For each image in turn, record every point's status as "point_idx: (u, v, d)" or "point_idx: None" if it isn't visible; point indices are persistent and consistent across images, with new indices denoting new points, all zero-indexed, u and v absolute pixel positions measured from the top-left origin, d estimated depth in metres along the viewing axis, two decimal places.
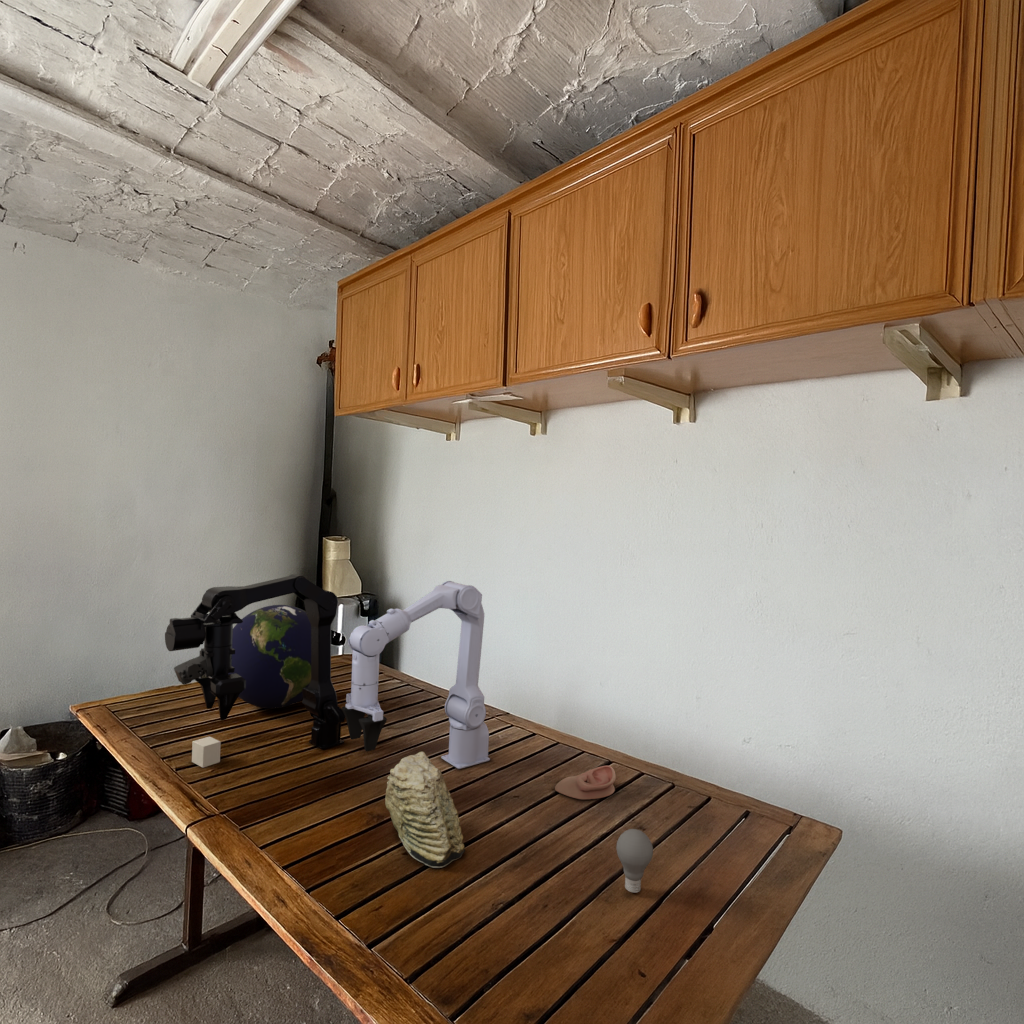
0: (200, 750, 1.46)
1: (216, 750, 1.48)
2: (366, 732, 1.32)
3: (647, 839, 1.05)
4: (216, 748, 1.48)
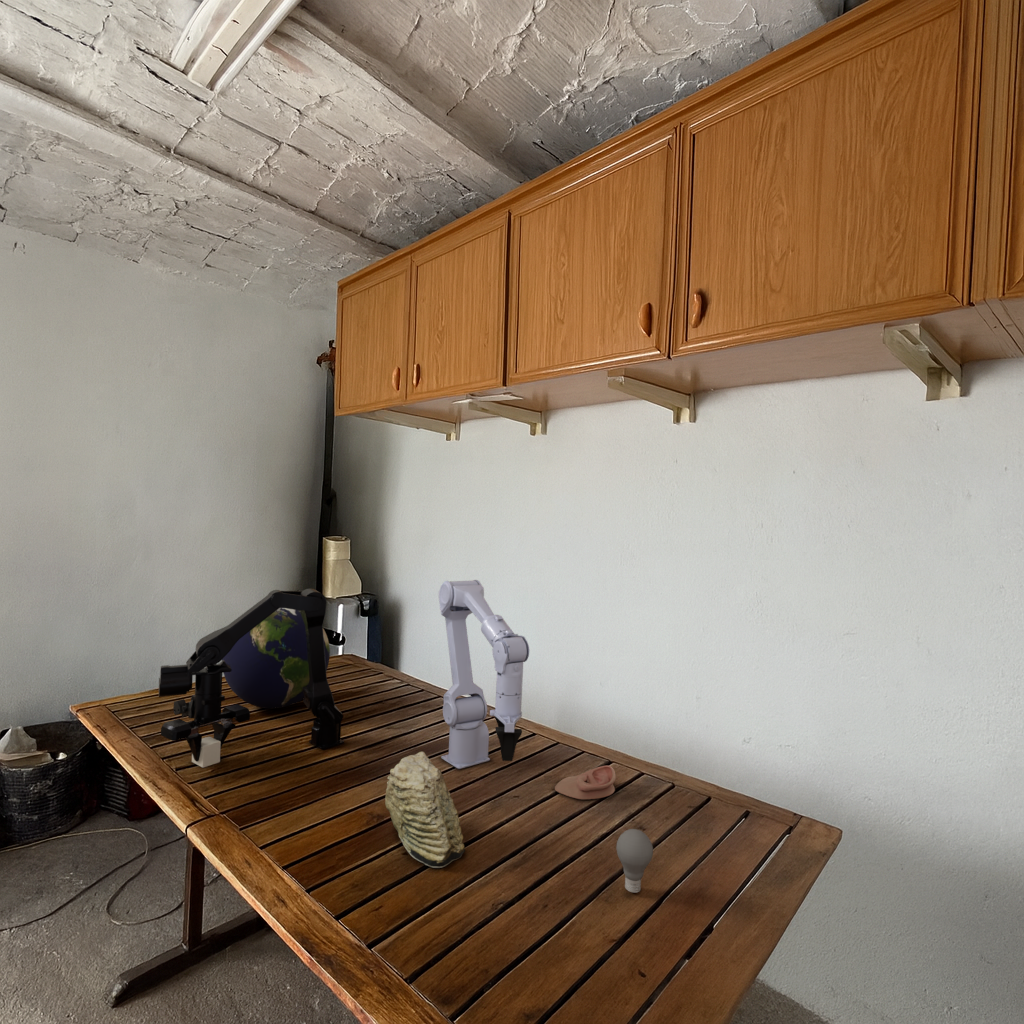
0: None
1: (216, 750, 1.48)
2: (500, 741, 1.34)
3: (647, 839, 1.05)
4: (216, 748, 1.48)
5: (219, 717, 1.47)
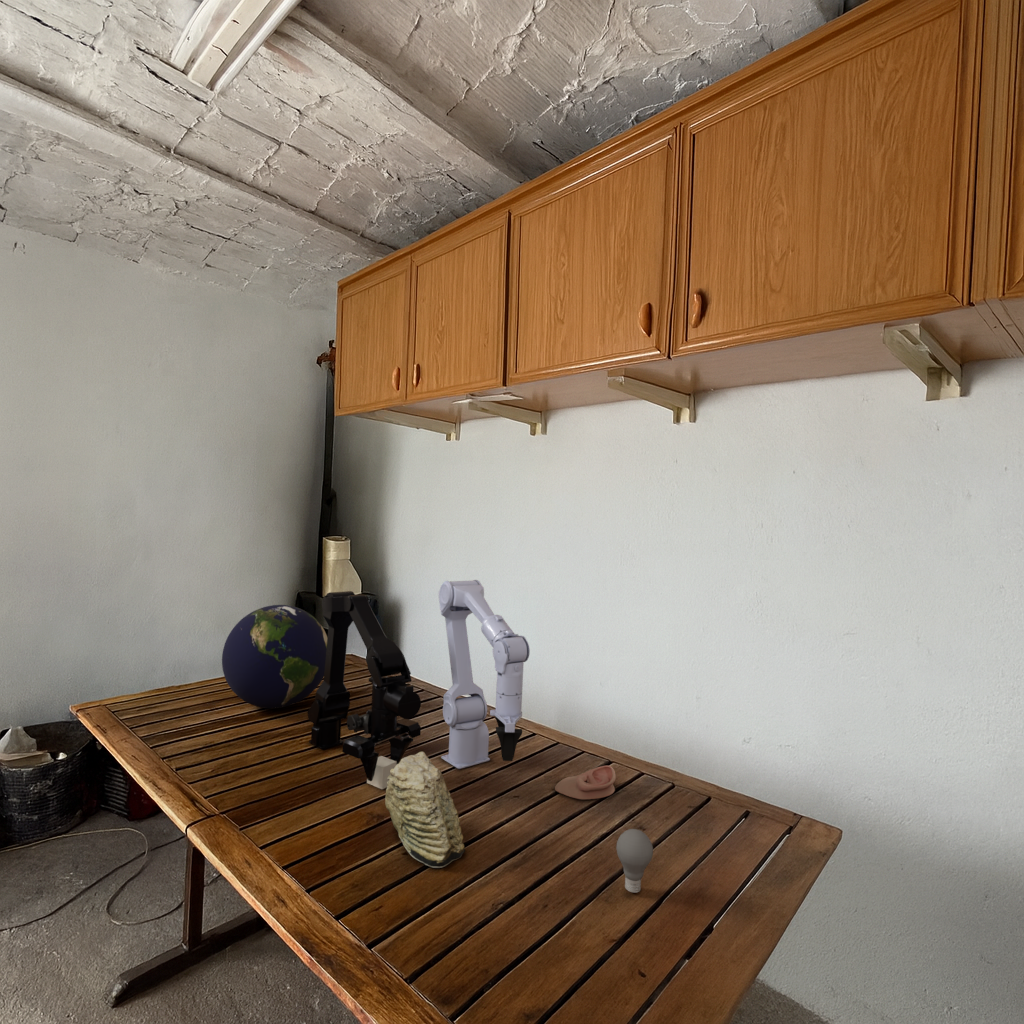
0: (378, 771, 1.39)
1: None
2: (500, 741, 1.34)
3: (647, 839, 1.05)
4: (393, 768, 1.41)
5: (396, 733, 1.41)
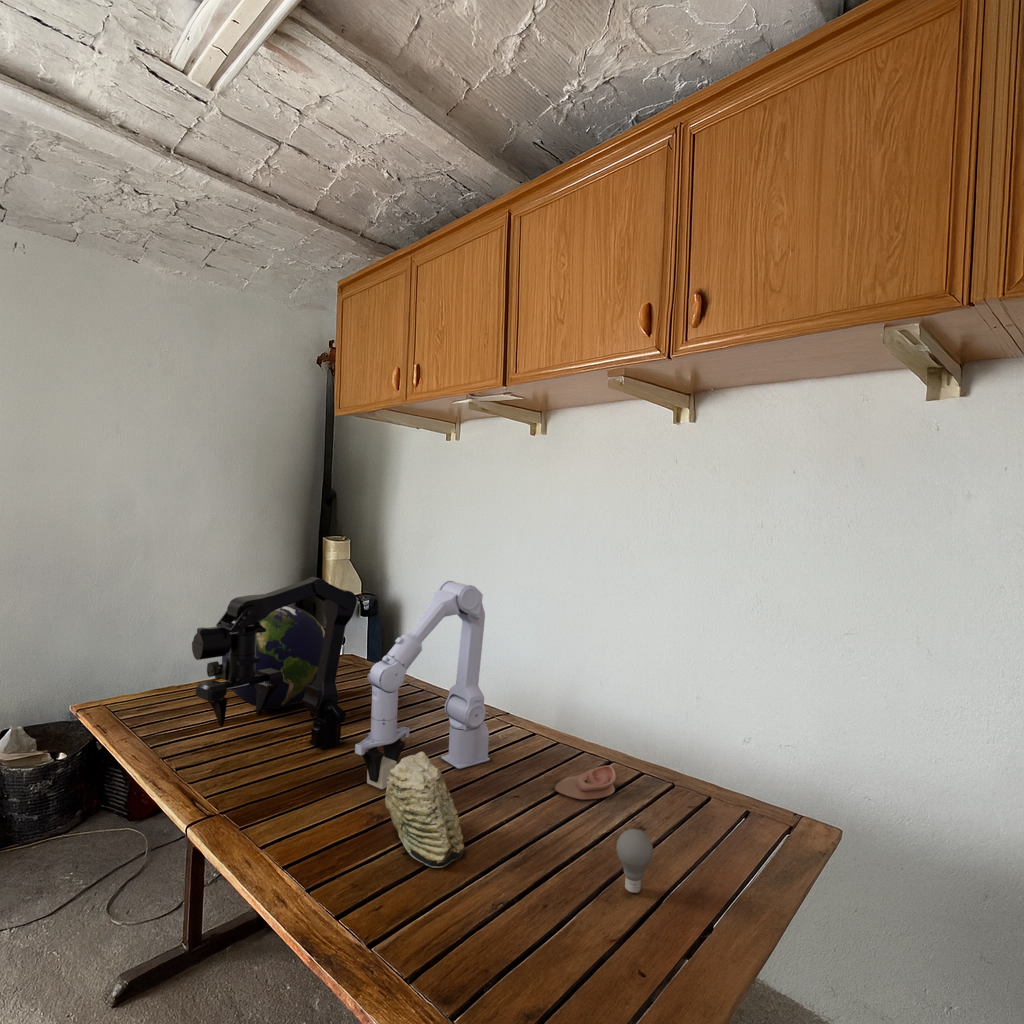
0: None
1: None
2: None
3: (647, 839, 1.05)
4: (393, 768, 1.41)
5: (254, 679, 1.45)
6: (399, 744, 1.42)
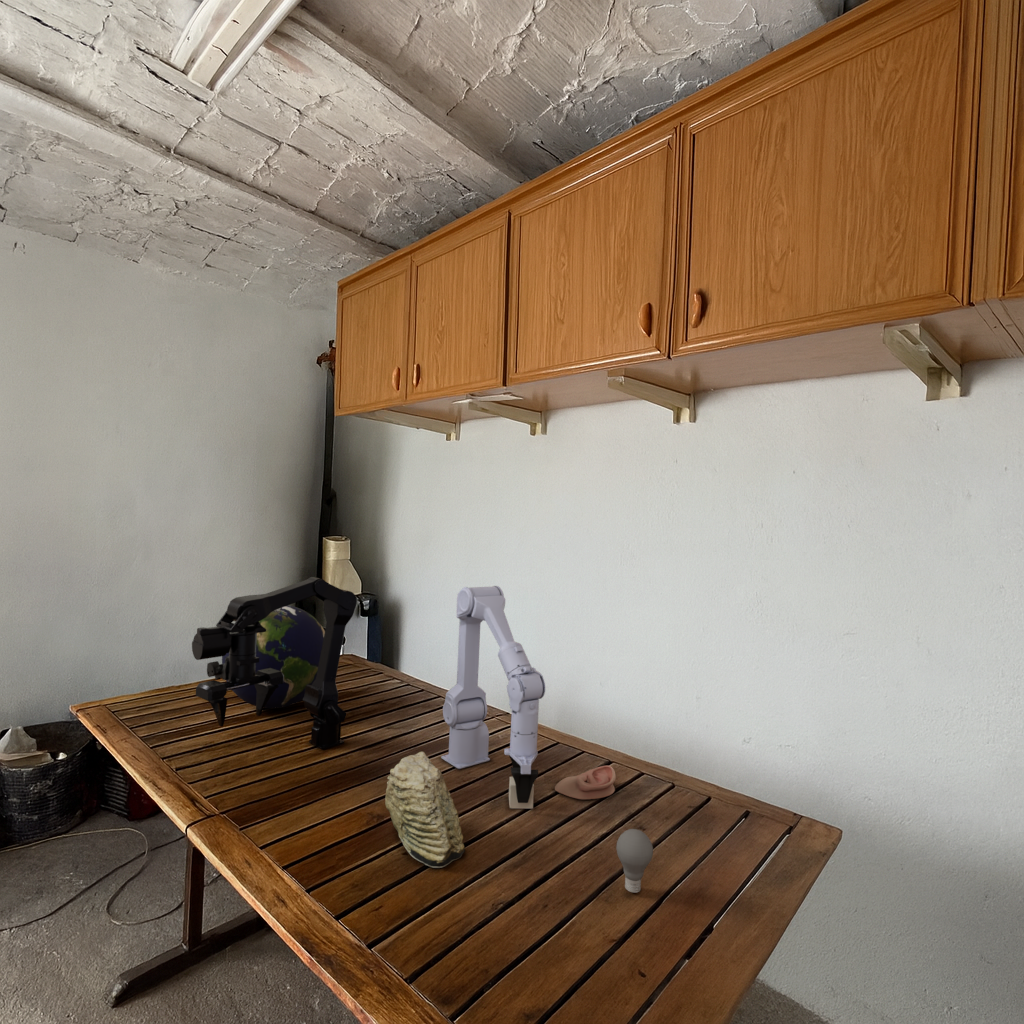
0: None
1: None
2: (516, 783, 1.29)
3: (647, 839, 1.05)
4: None
5: (254, 679, 1.45)
6: None
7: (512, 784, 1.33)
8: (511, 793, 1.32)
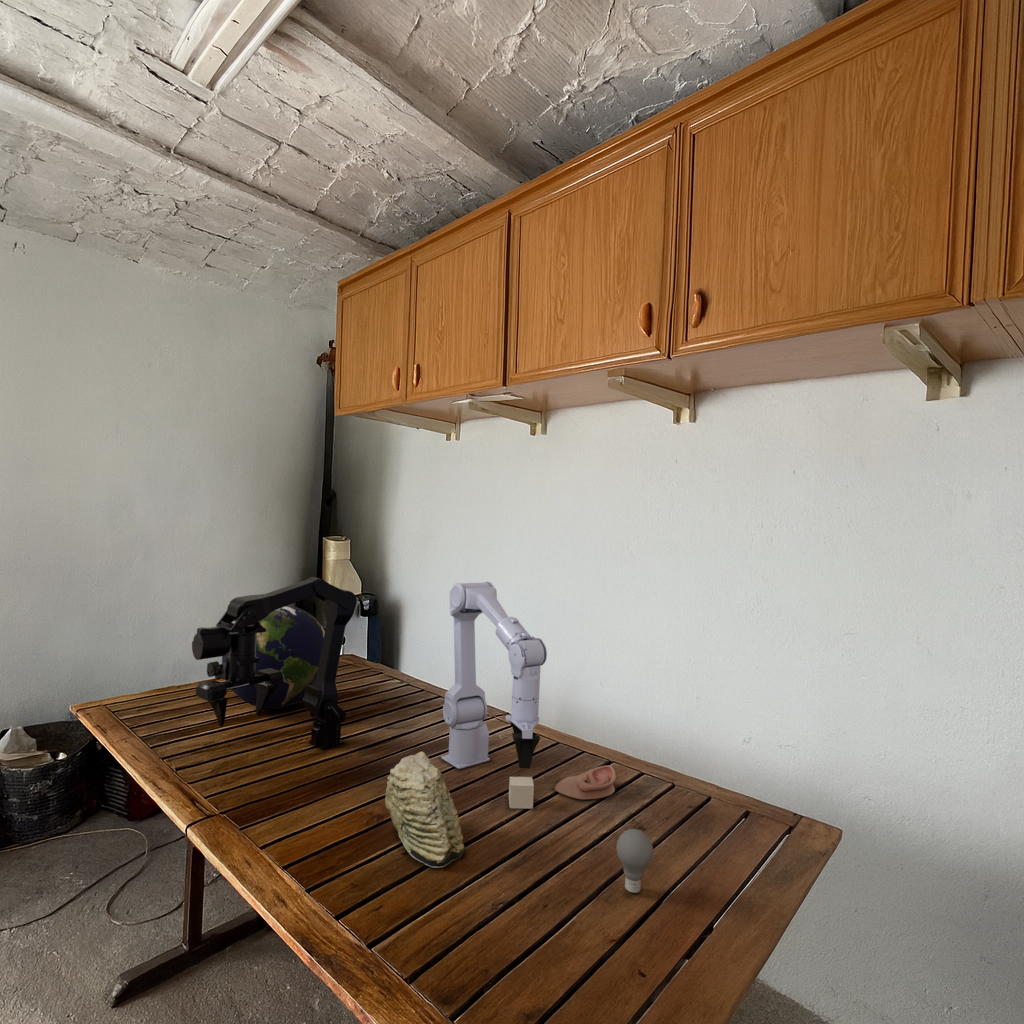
0: (527, 791, 1.32)
1: None
2: (517, 748, 1.29)
3: (647, 839, 1.05)
4: None
5: (254, 679, 1.45)
6: None
7: (512, 784, 1.33)
8: (511, 793, 1.32)
